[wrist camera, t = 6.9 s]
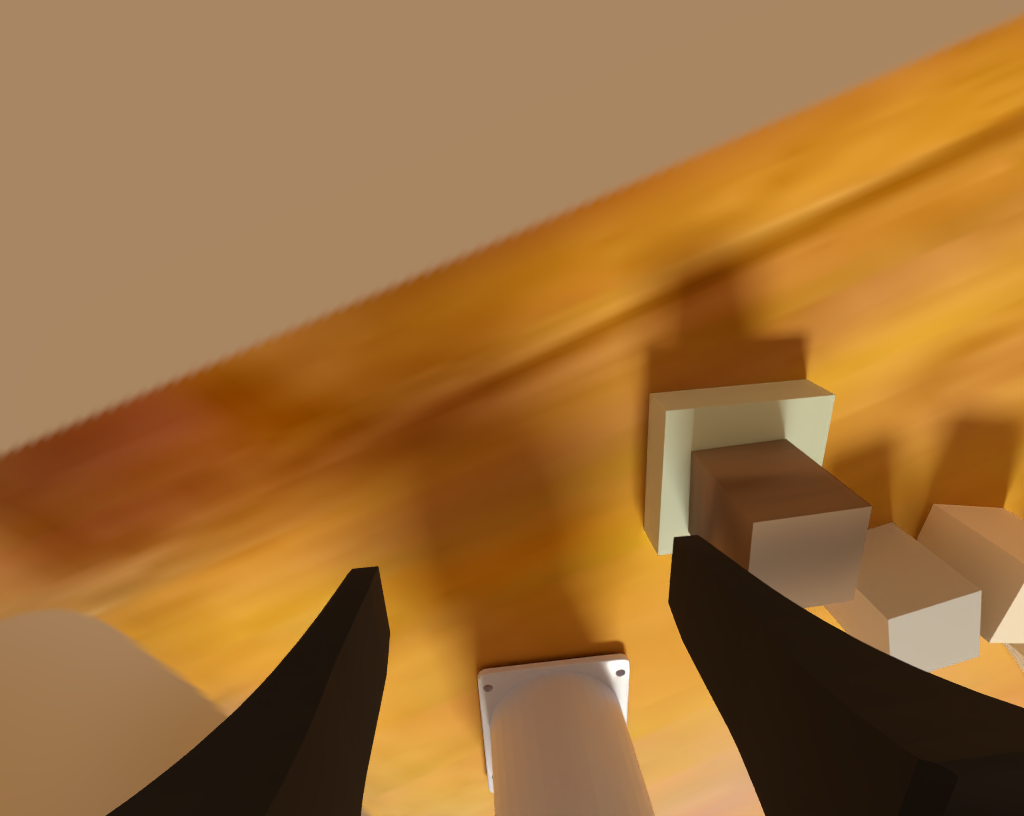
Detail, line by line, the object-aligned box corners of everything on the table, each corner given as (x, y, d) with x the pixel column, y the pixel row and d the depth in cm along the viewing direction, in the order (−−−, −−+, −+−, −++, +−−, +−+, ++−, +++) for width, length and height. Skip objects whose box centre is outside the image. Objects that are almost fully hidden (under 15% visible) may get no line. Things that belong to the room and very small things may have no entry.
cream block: (968, 571, 29) (1066, 644, 24) (901, 568, 28) (989, 642, 23) (1002, 507, 27) (1113, 572, 22) (932, 503, 27) (1032, 568, 22)
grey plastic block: (894, 580, 28) (979, 656, 24) (821, 603, 28) (891, 683, 24) (891, 521, 27) (981, 590, 22) (814, 546, 27) (888, 620, 22)
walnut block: (776, 519, 24) (853, 600, 19) (688, 531, 23) (743, 617, 19) (786, 438, 22) (872, 506, 17) (691, 451, 22) (753, 522, 17)
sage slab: (777, 507, 26) (808, 538, 24) (640, 522, 26) (657, 555, 24) (798, 375, 24) (835, 394, 21) (645, 388, 23) (666, 411, 21)
